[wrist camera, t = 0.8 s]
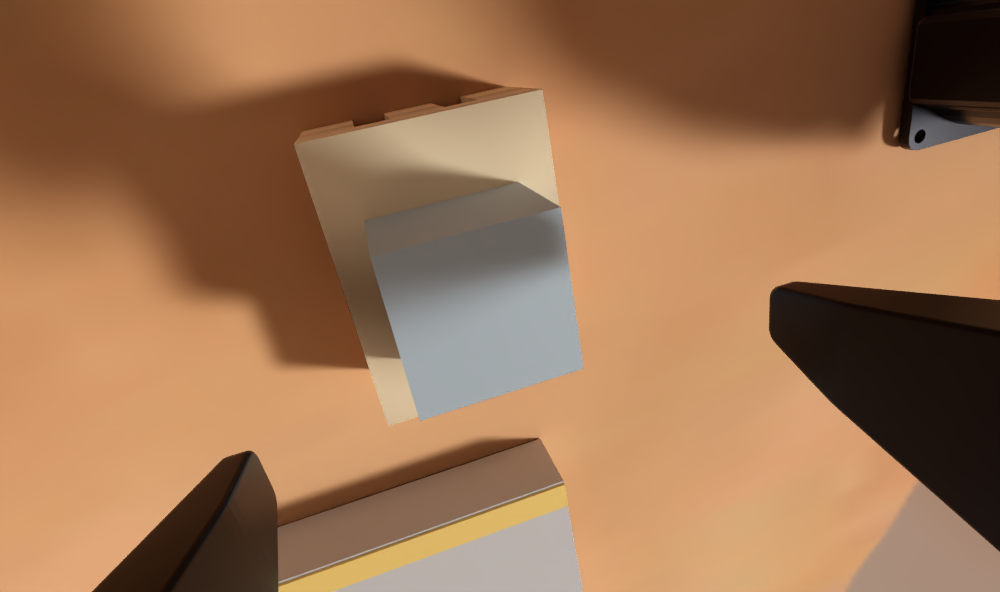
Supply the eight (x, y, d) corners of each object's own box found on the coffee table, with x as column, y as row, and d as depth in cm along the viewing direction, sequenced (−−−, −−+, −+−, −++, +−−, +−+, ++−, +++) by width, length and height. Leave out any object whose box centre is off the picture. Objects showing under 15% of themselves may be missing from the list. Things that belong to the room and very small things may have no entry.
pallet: (302, 130, 15) (293, 144, 12) (503, 86, 16) (542, 89, 13) (380, 367, 19) (388, 426, 16) (543, 318, 20) (581, 364, 17)
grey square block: (363, 220, 13) (370, 257, 11) (518, 181, 14) (560, 207, 11) (405, 358, 15) (419, 420, 12) (541, 318, 16) (583, 368, 13)
